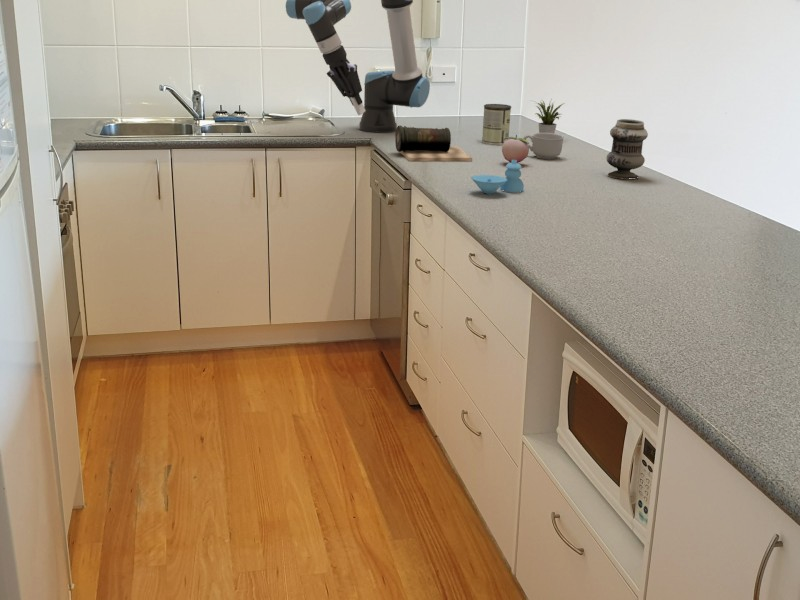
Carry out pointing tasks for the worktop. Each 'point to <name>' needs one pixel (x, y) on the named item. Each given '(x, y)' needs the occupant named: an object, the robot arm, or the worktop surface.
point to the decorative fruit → (515, 149)
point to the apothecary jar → (627, 147)
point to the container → (422, 139)
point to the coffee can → (496, 123)
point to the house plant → (548, 118)
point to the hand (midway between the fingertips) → (361, 112)
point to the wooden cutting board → (437, 155)
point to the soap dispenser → (501, 180)
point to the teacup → (546, 145)
